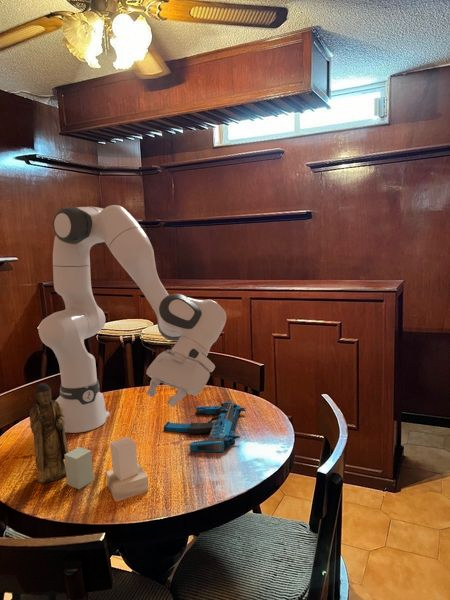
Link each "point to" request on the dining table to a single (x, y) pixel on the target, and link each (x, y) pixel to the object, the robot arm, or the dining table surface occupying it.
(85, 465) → the sage pillar
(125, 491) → the birch slab
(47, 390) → the statue
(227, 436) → the submachine gun
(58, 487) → the dining table surface
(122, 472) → the cream pillar
